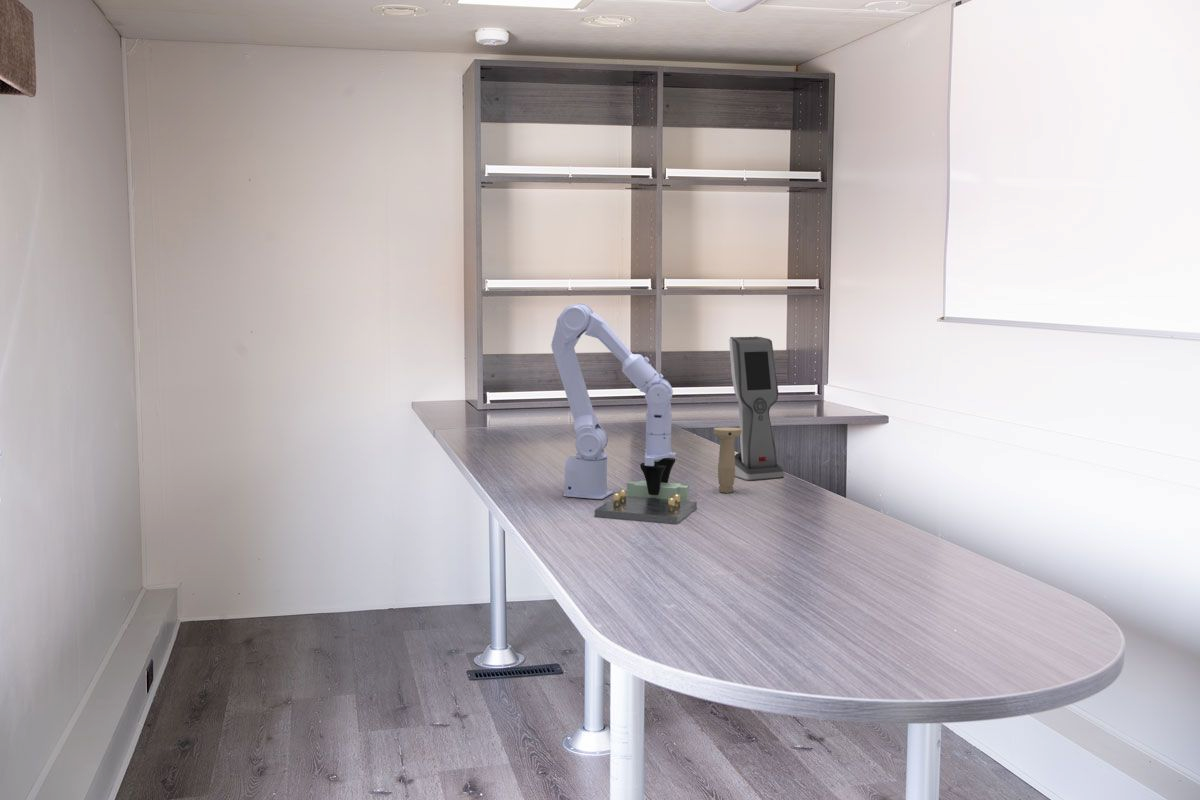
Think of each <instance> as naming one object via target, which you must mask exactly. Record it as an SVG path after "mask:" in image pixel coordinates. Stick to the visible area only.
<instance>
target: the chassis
mask: <svg viewBox="0 0 1200 800" xmlns="http://www.w3.org/2000/svg"><path fill="white" fill-rule="evenodd" d="M697 504H698V502H697V501H693V500H692V501H691V500H687V501H683V500H680V494H674V498H668V499H659V498H647V497H634V496H627V489H619V492H615V493H613V497H612V499H610V500H609V501H607V502H605V503H603V504H601V505H600V506H598V507H597V508H595V509H594V517H595V518H603V519H604V518H606V519H615V520H628V521H636V522H637V521H639V522H648V523H649V522H651V523H660V524H673V525H678V524H679V523H680V522H682V521H683V520H684V519H686V518H687V517H688V516H689V515H690V514H692V513H693V512H695V510H697V507H698V505H697Z"/></svg>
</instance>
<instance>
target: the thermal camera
mask: <svg viewBox="0 0 1200 800" xmlns="http://www.w3.org/2000/svg"><path fill="white" fill-rule="evenodd" d="M728 341H729V342H728V343H729V355H730V367H731V368H730V370H731V379H732V386H733V390H734V393H735V394H734V395H735V396H736V398H737V402H738V410H739V411H738V412H739V413H738V414H739V416H738V417H739V418H738V419H739V428H740V429H741V435H740V436H739V437H740V438H739V439H740V440H739V441H740V452H738V453H736V454H735V478H738V479H742V480H744V481H750V480H751V481H759V480H760V481H761V479H763V480H772V479H771V478H774V479H781V477H783V478H784V477H785V472H784V470H783V468H782V467H781V466H780V465H779V464H778V459H777V457H778V456H777V450H776V449H777V448H776V442H775V438H774V433H773V427H772V422H771V418H770V409H771V408H772V407H773V405H775V404H776V403H777V401H778V399H779V389H778V387H779V385H778V379H777V372H776V365H775V356H774V347H773V341H772V340H771V339H770V338H766V337H763V336H731V337H729V339H728Z"/></svg>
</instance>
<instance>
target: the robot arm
mask: <svg viewBox="0 0 1200 800" xmlns="http://www.w3.org/2000/svg"><path fill="white" fill-rule="evenodd" d="M583 334H584V335H585V336H589V337H592V338H595V339H598V341H599V342H601V344H603V345H604V346H605V347H606V348H607V349H608V350H609V352H611V354H613V355H614V356H615V358H616V359H617V360H618V361H619V362H621V364H622V366H621V368H622V369H621V371H622V373H623V374H624V376H626V378H627V379H628V380H629V381H630V382H631V383H632V384H633V385H634V386H635V387H636V388H637V390H639V392H641V393H644V398H645V401H646V402H647V409H646V410H647V412H646V413H645V414H646V417H645V419H646V420H645V425H646V426H645V451H644V462H642V463H639V464H640V467H639V468H640V470H641V472H642V473H643V475H644V478H645V481H646V483H647V488H648V492H649V495H658V494H659V491H660V484H661V482H664V483H669V479H670V474H671V471H672V469H673V466H674V464H675V463H676V458H675V457H676V456H677V453H676V452H672V404H671V403H672V402H671V400H672V398H673V393H674V391H673V388H672V385H671V383H670V381H668V380H666V379H664V375H663V374H662V373H660V374H659V372H658V371H656V369H654V367H653V366H652V365H651V364H650V363H649V362H650V359H649V357H648V356H643V355H642V354H638V353H636V354H635V353H632V351H631V350H630V349H629V348H628V346H626V344H625V343H624V342H623V340H622V339H620V337H619V336H618V335H617V334H616V332H615V331H614V330H613V329H612V328H611V327H610V325H609V324H608V323H607V322H606V321H605V320H604V319H603V318H602V317H601V316H600V315H599V314H598V313H596V312H594V311H593V309H592V308H591V307H590V306H589V305H588V304H586V303H576V304H570V305H568V306H566V307H565V308H564V309H563V310H562V311H561V313H560V314H559V316H558V317H557V319H556V324H555V330H554V333H553V337H552V340H551V345H550V347H551V351H552V354H553V356H554V360H555V364H556V367H557V369H558V373H559V376H560V379H561V382H562V386H563V389H564V392H565V394H566V395H565V396H566V398H567V402H568V405H569V408H570V412H571V414H572V418H573V425H574V426H573V429H574V434H575V437H576V438H575V442H574V443H575V444H574V446H575V449H576V452H577V453H576V454H575V456H573V455H571V456H568V457H567V459H566V461H565V464H564V465H565V466H564V493H563V495H562V496H563V497H567V498H568V497H569V498H570V497H571V498H580V499H581V498H582V499H592V500H593V499H594V500H603V499H605V498H607V497H608V496H610V495H612V494H614V493H613V491H612V490H608V454H607V453H606V451H605V449H606V447H607V445H608V443H609V438H608V436H609V435H608V434H607V432H606V430H605V429H604V428H603V427H602V426H601V424H600V421H599V418H598V416H597V415H596V414H595V411H594V408H593V405H592V402H591V398H590V395H589V392H588V389H587V385H586V381H585V379H584V375H583V373H582V369H581V366H580V363H579V359H578V357H577V353H576V350H575V347H576V345H577V344H578V342H579V340H580V338H581V336H582V335H583Z"/></svg>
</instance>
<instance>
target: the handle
mask: <svg viewBox="0 0 1200 800" xmlns="http://www.w3.org/2000/svg"><path fill="white" fill-rule="evenodd" d="M713 434H714V435H715V436H716V437H718V438H719V451H718V452H719V454H718V465H717V467H718V468H717V475H718V476H717V479H718V485H719V486H718V490H719V492H720V493H726V494H729V493H732V492H734V483H735V478H736V477H735V455H736V454H735V440H736V438H738V437H740V435H741V429H740V427H729V426H728V427H724V426H723V427H714V428H713Z"/></svg>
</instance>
